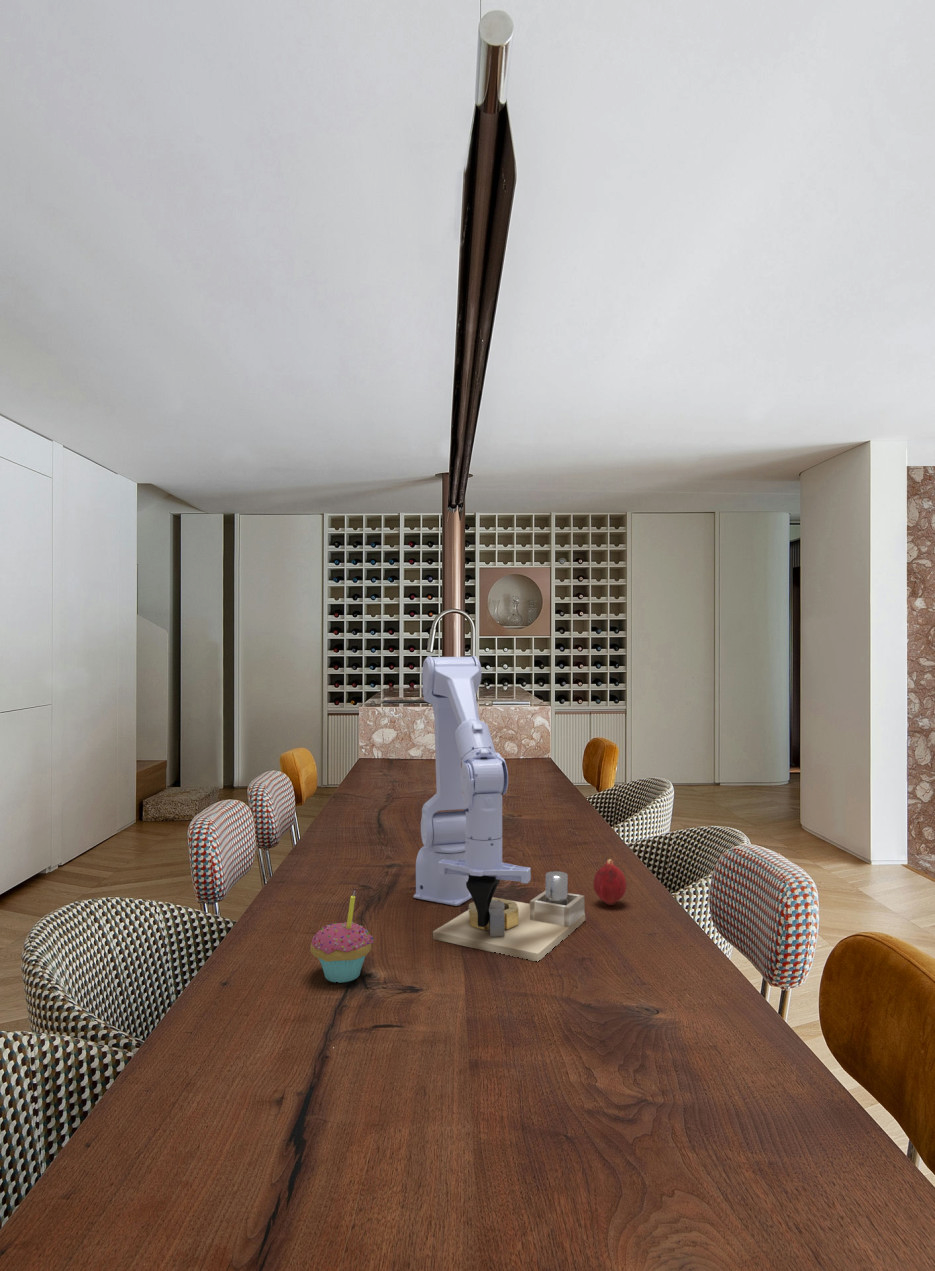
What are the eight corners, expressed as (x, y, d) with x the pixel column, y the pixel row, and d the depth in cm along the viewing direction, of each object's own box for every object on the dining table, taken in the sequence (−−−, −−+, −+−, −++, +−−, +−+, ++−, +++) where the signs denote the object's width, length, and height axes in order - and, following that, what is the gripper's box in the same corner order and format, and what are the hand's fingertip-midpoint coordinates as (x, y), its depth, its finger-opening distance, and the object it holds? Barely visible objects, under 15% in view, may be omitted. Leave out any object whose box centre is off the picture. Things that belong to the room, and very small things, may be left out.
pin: (541, 917, 126) (541, 874, 126) (555, 911, 129) (555, 870, 129) (557, 922, 123) (557, 879, 124) (572, 917, 126) (572, 874, 126)
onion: (626, 911, 132) (626, 865, 132) (592, 909, 133) (592, 863, 133) (626, 900, 138) (626, 856, 138) (594, 898, 139) (593, 854, 139)
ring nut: (472, 937, 117) (471, 916, 117) (467, 913, 127) (467, 894, 127) (522, 935, 118) (522, 914, 118) (514, 912, 128) (514, 893, 128)
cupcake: (382, 967, 109) (382, 883, 110) (355, 993, 101) (355, 902, 102) (329, 960, 112) (329, 877, 112) (298, 984, 104) (298, 895, 104)
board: (432, 939, 120) (432, 912, 120) (489, 903, 136) (489, 879, 137) (538, 962, 111) (537, 932, 111) (585, 920, 128) (585, 895, 128)
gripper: (430, 838, 118) (430, 927, 117) (521, 846, 113) (522, 939, 112) (447, 828, 124) (447, 913, 124) (534, 835, 119) (534, 923, 119)
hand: (483, 924), depth 119 cm, fingers closed, pressing on ring nut
